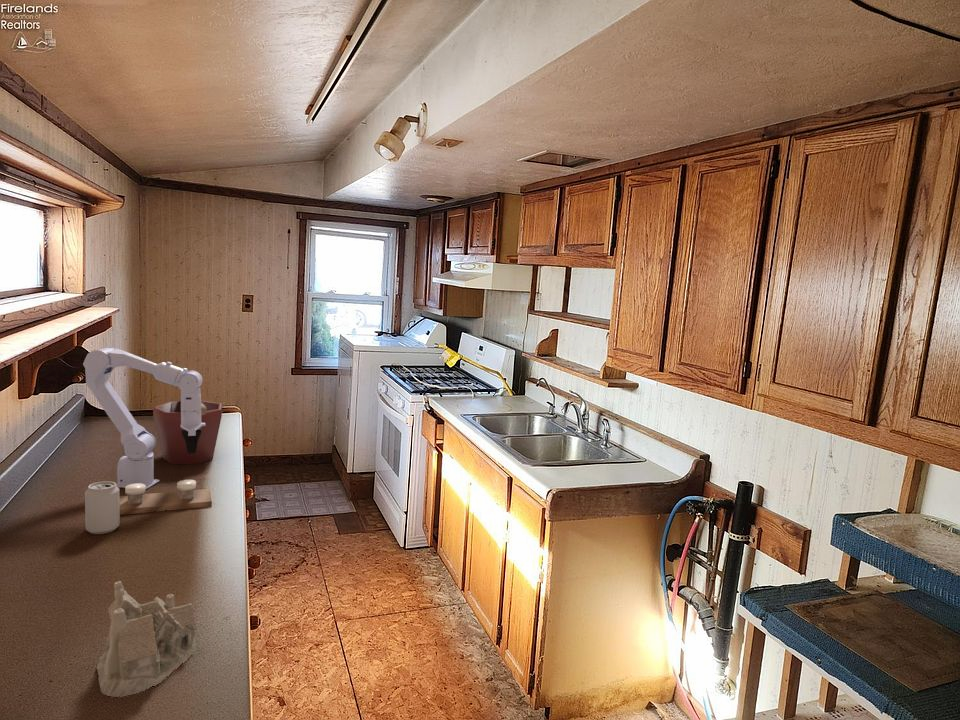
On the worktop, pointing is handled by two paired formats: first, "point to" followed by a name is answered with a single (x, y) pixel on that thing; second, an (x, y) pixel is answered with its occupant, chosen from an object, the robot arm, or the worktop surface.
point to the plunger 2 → (186, 485)
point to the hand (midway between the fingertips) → (191, 452)
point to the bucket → (170, 429)
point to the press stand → (164, 501)
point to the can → (102, 507)
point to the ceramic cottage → (144, 643)
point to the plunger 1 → (135, 489)
